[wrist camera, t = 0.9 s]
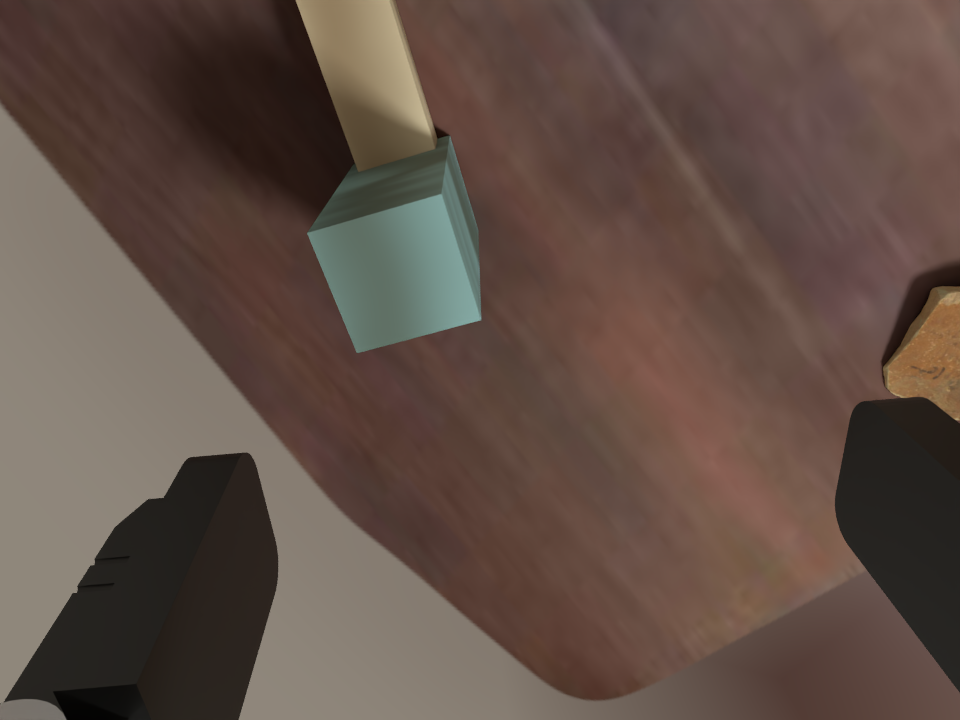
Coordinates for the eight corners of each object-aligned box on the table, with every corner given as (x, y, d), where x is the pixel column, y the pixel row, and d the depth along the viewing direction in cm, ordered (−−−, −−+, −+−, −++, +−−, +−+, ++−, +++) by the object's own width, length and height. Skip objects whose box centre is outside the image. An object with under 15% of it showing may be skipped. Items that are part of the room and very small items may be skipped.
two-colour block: (348, -206, 23) (281, -313, 15) (478, 230, 29) (481, 320, 21) (233, -164, 23) (108, -245, 15) (387, 256, 30) (357, 353, 22)
